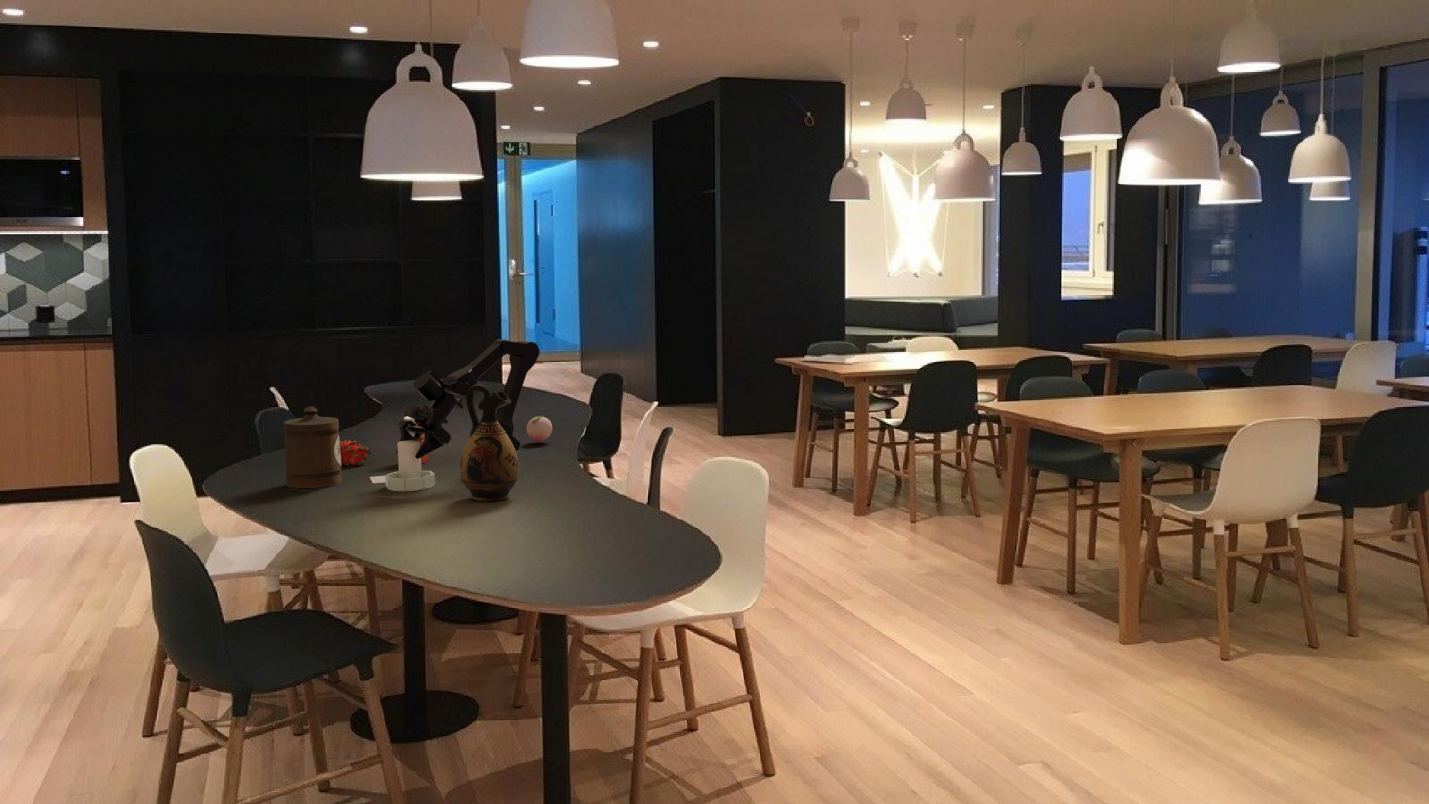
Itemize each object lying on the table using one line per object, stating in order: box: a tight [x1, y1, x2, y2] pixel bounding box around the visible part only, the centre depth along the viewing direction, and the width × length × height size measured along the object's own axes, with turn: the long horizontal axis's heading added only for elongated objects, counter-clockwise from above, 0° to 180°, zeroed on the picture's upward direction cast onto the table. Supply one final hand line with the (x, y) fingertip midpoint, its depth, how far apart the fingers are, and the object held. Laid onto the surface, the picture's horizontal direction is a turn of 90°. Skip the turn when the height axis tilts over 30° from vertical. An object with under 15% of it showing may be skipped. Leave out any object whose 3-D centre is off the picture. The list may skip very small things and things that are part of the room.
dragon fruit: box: [339, 439, 372, 467], centre depth 379 cm, size 8×8×12 cm
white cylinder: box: [397, 440, 422, 479], centre depth 343 cm, size 6×6×12 cm
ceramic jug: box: [459, 383, 520, 503], centre depth 327 cm, size 17×15×30 cm
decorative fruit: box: [526, 413, 553, 444], centre depth 413 cm, size 9×8×10 cm
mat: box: [369, 475, 386, 484], centre depth 355 cm, size 10×10×1 cm
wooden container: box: [283, 406, 343, 489], centre depth 349 cm, size 15×15×22 cm
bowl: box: [384, 469, 436, 492], centre depth 343 cm, size 13×13×4 cm
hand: (406, 456), depth 342 cm, fingers open, 9 cm apart
